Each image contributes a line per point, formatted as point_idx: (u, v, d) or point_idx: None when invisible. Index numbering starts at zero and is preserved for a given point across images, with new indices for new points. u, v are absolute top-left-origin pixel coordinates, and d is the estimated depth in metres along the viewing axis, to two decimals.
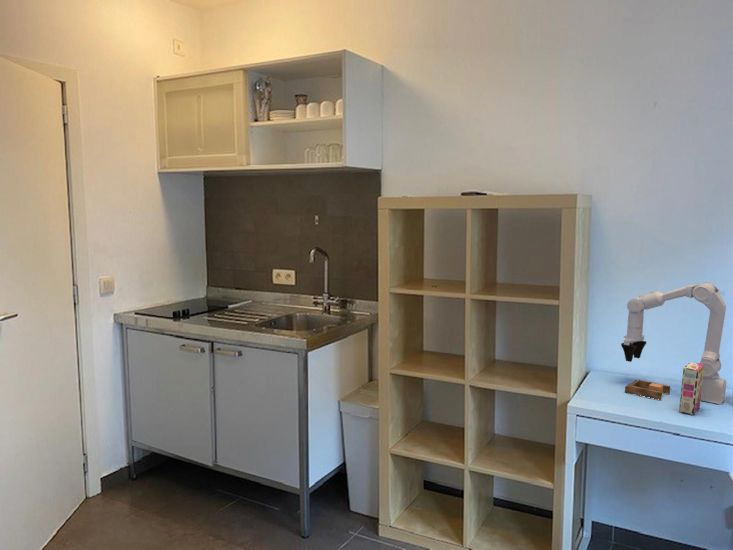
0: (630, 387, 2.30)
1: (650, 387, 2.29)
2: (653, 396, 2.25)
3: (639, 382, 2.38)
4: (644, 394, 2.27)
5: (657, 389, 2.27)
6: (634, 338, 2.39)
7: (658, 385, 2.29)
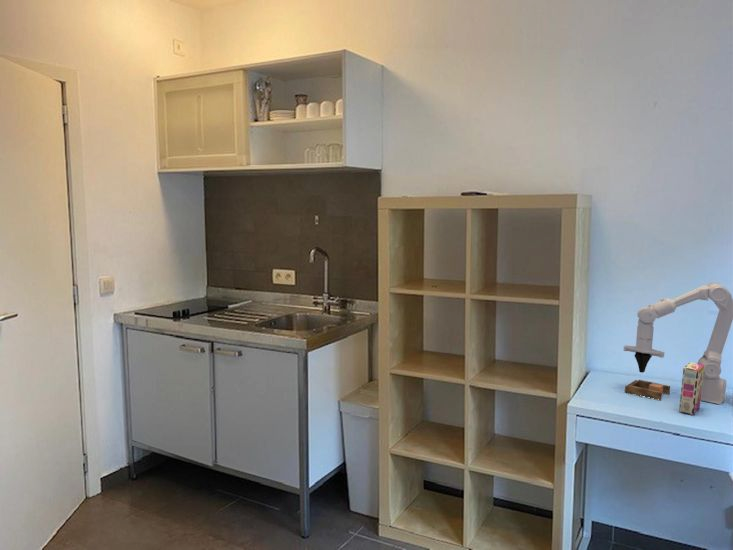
0: (630, 387, 2.30)
1: (650, 387, 2.29)
2: (653, 396, 2.25)
3: (639, 382, 2.38)
4: (644, 394, 2.27)
5: (657, 389, 2.27)
6: (635, 347, 2.32)
7: (658, 385, 2.29)
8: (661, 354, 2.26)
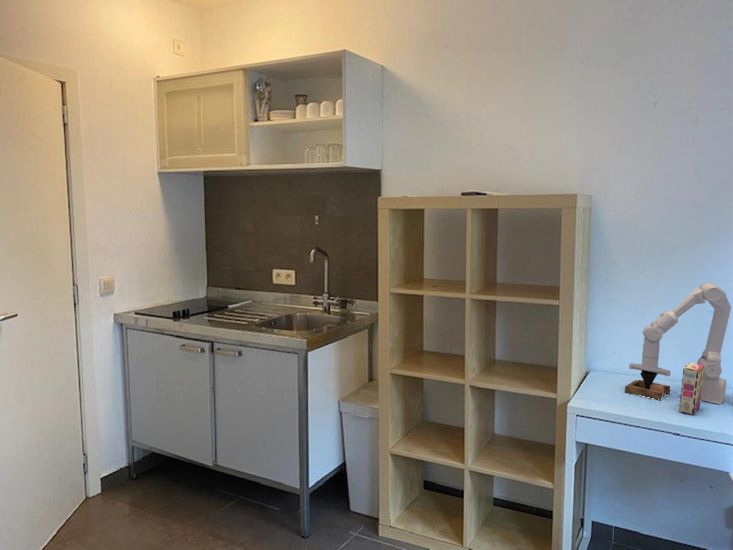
0: (630, 387, 2.30)
1: (651, 387, 2.28)
2: (653, 396, 2.25)
3: (639, 382, 2.38)
4: (644, 394, 2.27)
5: (659, 389, 2.27)
6: (641, 365, 2.31)
7: (659, 385, 2.28)
8: (667, 373, 2.25)
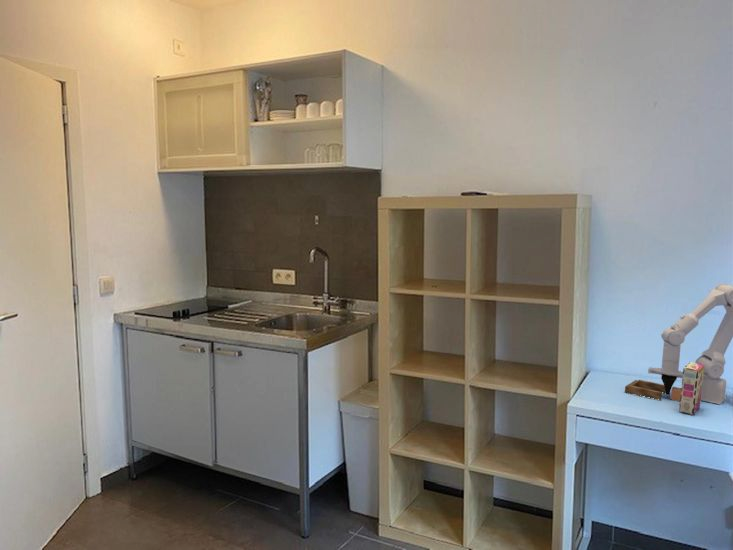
0: (630, 387, 2.30)
1: (673, 391, 2.23)
2: (653, 396, 2.25)
3: (639, 382, 2.38)
4: (644, 394, 2.27)
5: (680, 393, 2.22)
6: (661, 369, 2.26)
7: (680, 389, 2.24)
8: None
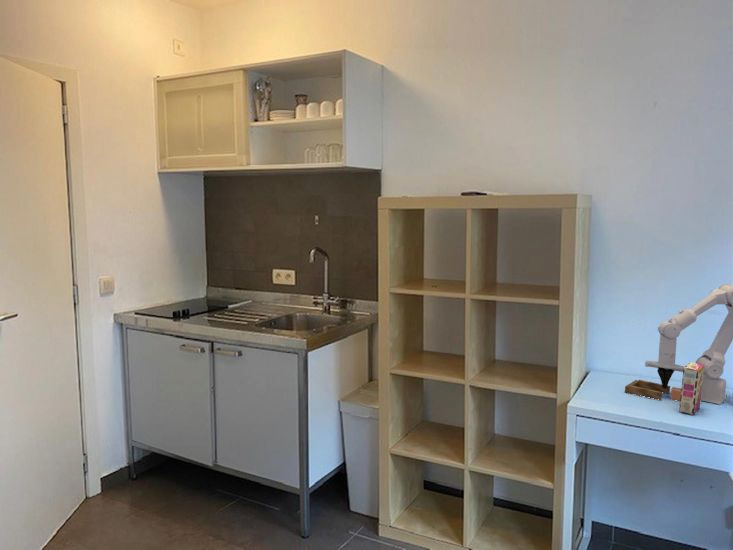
0: (630, 387, 2.30)
1: (672, 392, 2.23)
2: (653, 396, 2.25)
3: (639, 382, 2.38)
4: (644, 394, 2.27)
5: (680, 393, 2.22)
6: (658, 363, 2.26)
7: (680, 389, 2.24)
8: None
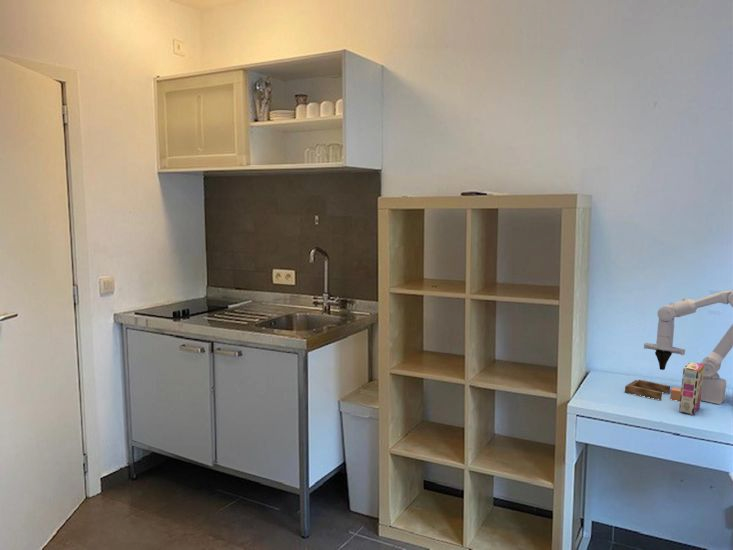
0: (630, 387, 2.30)
1: (672, 392, 2.23)
2: (653, 396, 2.25)
3: (639, 382, 2.38)
4: (644, 394, 2.27)
5: (680, 393, 2.22)
6: (656, 345, 2.34)
7: (680, 389, 2.24)
8: (682, 351, 2.28)
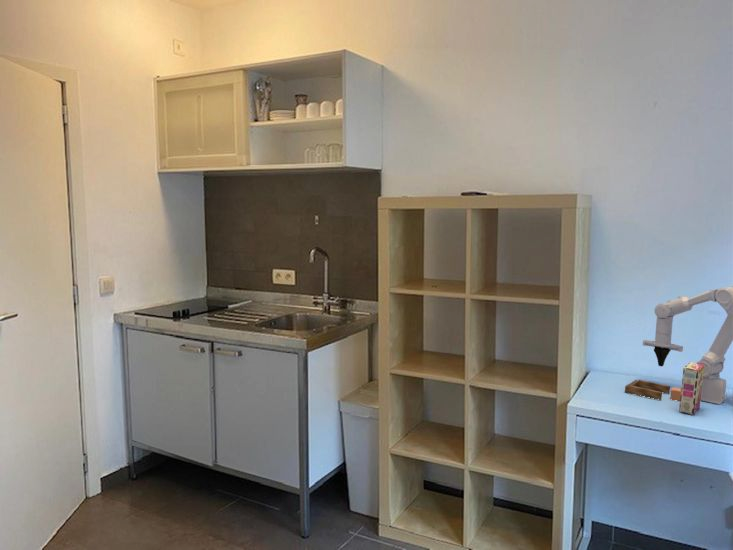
0: (630, 387, 2.30)
1: (672, 392, 2.23)
2: (653, 396, 2.25)
3: (639, 382, 2.38)
4: (644, 394, 2.27)
5: (680, 393, 2.22)
6: (654, 342, 2.39)
7: (680, 389, 2.24)
8: (680, 348, 2.33)
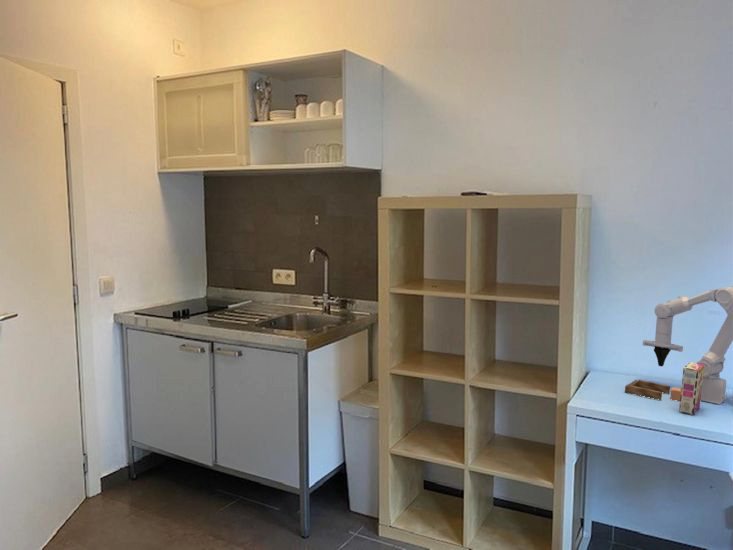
0: (630, 387, 2.30)
1: (672, 392, 2.23)
2: (653, 396, 2.25)
3: (639, 382, 2.38)
4: (644, 394, 2.27)
5: (680, 393, 2.22)
6: (654, 342, 2.39)
7: (680, 389, 2.24)
8: (680, 348, 2.33)
